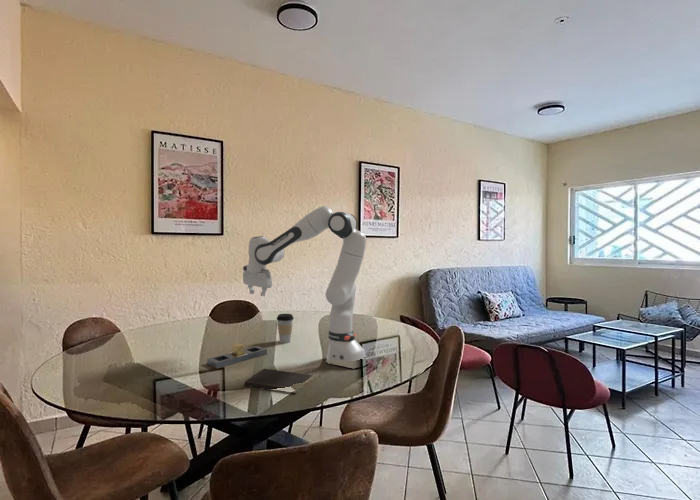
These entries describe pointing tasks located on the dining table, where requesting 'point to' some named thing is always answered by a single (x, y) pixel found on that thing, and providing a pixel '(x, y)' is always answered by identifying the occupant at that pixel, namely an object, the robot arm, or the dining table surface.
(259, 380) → the hardcover book
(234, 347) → the block
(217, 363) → the grey slotted tray
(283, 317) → the coffee cup
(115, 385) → the dining table surface
